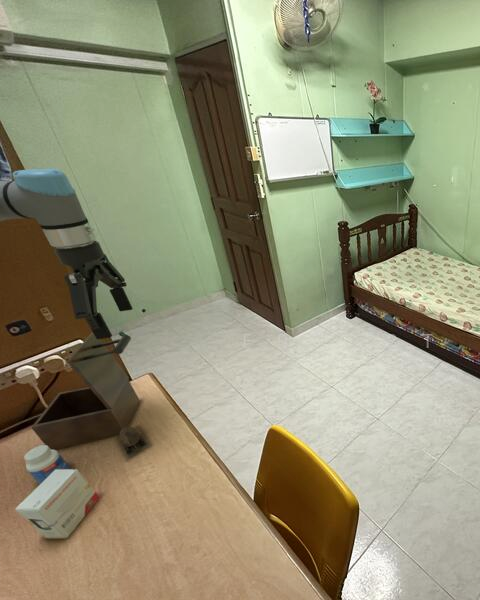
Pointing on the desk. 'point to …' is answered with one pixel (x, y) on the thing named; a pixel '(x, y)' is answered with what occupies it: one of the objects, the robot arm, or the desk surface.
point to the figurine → (132, 441)
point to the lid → (101, 368)
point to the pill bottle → (43, 462)
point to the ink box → (58, 503)
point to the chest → (84, 417)
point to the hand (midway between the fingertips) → (116, 323)
